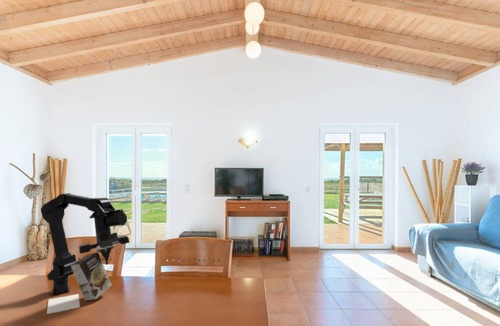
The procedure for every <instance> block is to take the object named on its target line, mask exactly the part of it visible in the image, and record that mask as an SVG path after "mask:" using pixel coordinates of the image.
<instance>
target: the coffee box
mask: <svg viewBox="0 0 500 326" xmlns="http://www.w3.org/2000/svg"><path fill="white" fill-rule="evenodd" d="M76 261H77V262H75V263H74V264H72V265H71V268H72V270H73V272H74V273H73V275H74V277H75V279H76V281H77V284H78V286H79V289H80V292H81V294H82V296H83V298H84V300H85V301H90V300H91V301H92V300H97V299H98V298H99V297H100V296H102V294H104V293H105V292H106V291H108V289H110V288H111V287H112V283H111V280H110V278H109V276H108V273H107V271H106V268H105V266H104V263H103V260H102V258H101V256H100V254H99V252H97V251H96V252H93V253H89V254H87V255H84V256H83V257H81V258H80V259H79V260H76Z"/></svg>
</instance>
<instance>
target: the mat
mask: <svg viewBox="0 0 500 326" xmlns="http://www.w3.org/2000/svg"><path fill="white" fill-rule="evenodd" d="M80 307H81V305H80V296H79V293H77V294H71V295H70V294H69V295H65V296H60V297H55V298H54V297H53V298H50V299H48V302H47V309H46V315H50V314H54V313H60V312H64V311H68V310H74V309H80Z"/></svg>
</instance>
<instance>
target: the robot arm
mask: <svg viewBox="0 0 500 326" xmlns="http://www.w3.org/2000/svg"><path fill="white" fill-rule="evenodd" d="M69 205H74V206H79V207H83V208H86V209H87V210H88V211H91V212H92V214H91V215H90V216H89V219H94V229H95V230H94V232H95V237H96V243H92V244H91V243H90V242H87V243H82V244H79V246H78V253H79V254H85V253H89V252H90V251H91V250H92V249H95V251H96V252H98V253H99V252H100V254H101V256H102V258H103V259H104V262H105V265H106V266H107V265H108V264H109V258H110V254H111V252H112V250H113V249H114V248H115V246H114V245H116V244H121V245H125V244H130V237H129V236H127V235H120V236H119V235H118V232H112V231H111V230H112V229H111V227H120V226H121V227H122V226H125V225H126V224H127V222H128V215H127V214H126V213H125V212H124V209H123V208H121V209H116V208H115V206H114V205H113V204H112V203H111V200H110V199H109V198H107V197H88V196H82V195H77V194H72V193H69V192H68V193H67V192H66V193H60V194H58V195H57V196H56V197H55V198H53V199H50V200H49V201H48V202H46V203H43V205H42V206H41V208H40V213H41V216H42V218H43V220H44V221H46V223H47V224H48V227H49V232H50V235H51V241H52V246H53V249H54V255H55V256H54V259H53V261H52V269H51V270H50V272H49V273H48V274H47V280H48V281H52V289H51V291H50V292H51V296H54V295H60V294H66V293H67V294H68V293H70V286H69V281H70V280H69V279H70V278H69V276H72V275H74V272H73V270H72V268H71V265H72V264H74V263H75V262H77V261H78V260H77V259H76V254H71V252H70V251H69V247H68V242H67V237H66V232H65V228H64V224H63V220H64V216H65V214H66V213H65V210H66V209H67V208H68V207H69Z"/></svg>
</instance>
